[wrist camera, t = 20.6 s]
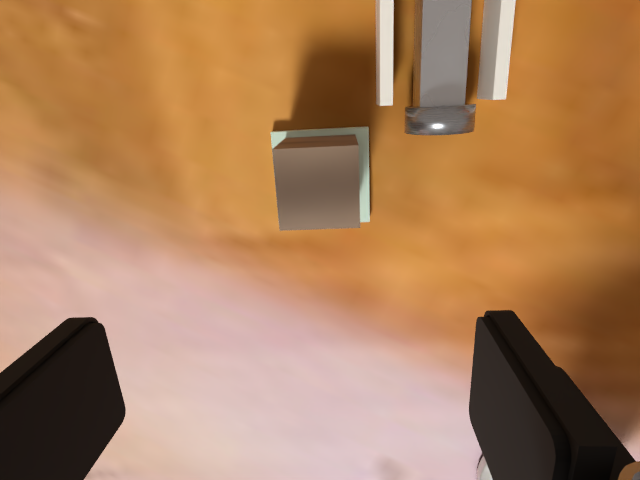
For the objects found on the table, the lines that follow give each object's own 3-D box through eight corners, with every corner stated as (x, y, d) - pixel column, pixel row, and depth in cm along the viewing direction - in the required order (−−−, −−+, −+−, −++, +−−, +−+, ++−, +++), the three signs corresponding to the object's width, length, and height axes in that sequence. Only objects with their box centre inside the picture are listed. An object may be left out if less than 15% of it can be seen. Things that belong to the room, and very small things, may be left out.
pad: (369, 218, 32) (369, 221, 31) (280, 221, 32) (279, 225, 32) (368, 126, 30) (368, 127, 29) (272, 131, 30) (270, 132, 29)
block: (356, 202, 31) (360, 227, 25) (290, 204, 31) (279, 230, 25) (355, 134, 29) (358, 145, 23) (285, 137, 29) (272, 149, 24)
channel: (488, 98, 28) (505, 99, 26) (376, 104, 29) (380, 105, 26) (504, -94, 25) (527, -120, 22) (375, -84, 25) (379, -107, 22)
